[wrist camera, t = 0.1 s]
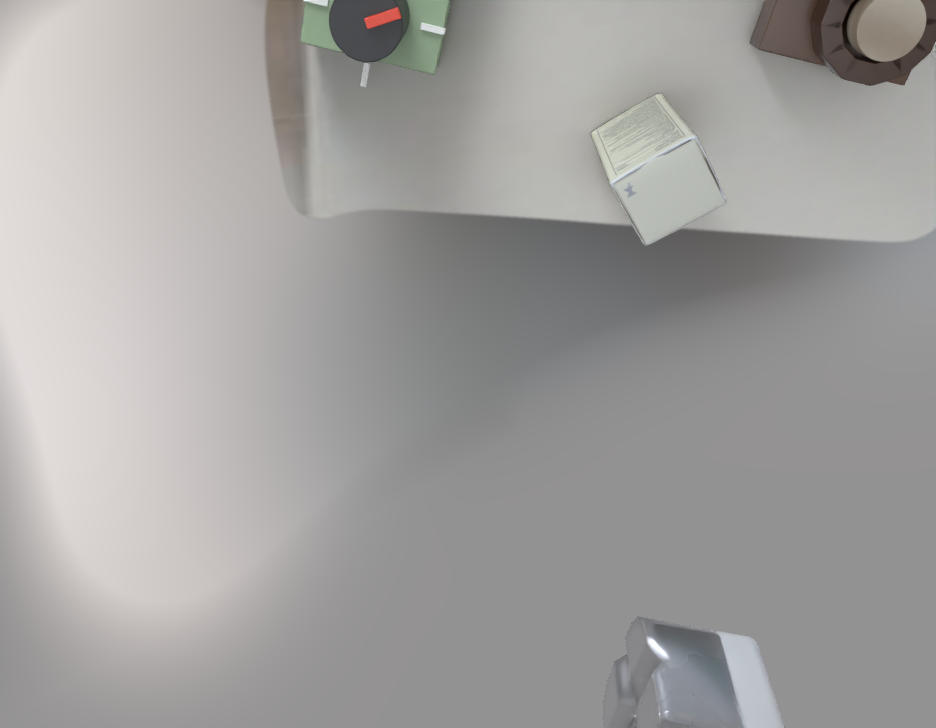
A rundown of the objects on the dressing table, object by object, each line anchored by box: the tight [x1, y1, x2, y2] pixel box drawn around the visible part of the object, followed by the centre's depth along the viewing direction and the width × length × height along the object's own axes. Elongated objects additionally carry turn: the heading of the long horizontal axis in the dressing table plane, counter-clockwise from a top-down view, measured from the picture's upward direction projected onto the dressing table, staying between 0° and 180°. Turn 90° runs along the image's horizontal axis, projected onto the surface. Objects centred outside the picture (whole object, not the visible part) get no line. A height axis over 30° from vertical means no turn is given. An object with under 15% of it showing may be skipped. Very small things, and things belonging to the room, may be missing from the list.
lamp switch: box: [846, 0, 926, 62], centre depth 48 cm, size 4×4×2 cm
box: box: [591, 93, 727, 245], centre depth 51 cm, size 5×4×11 cm
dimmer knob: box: [329, 0, 410, 62], centre depth 48 cm, size 4×4×4 cm
